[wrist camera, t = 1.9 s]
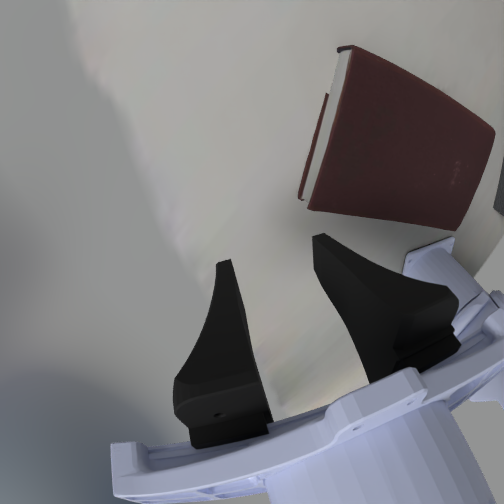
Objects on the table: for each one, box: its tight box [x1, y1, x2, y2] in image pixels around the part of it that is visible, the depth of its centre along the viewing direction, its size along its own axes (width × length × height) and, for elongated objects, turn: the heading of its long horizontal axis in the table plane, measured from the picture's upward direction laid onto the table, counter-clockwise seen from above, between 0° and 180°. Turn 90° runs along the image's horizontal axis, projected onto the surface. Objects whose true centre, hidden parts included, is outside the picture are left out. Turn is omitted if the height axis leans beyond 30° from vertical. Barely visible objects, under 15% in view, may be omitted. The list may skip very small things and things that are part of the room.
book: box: [298, 45, 495, 231], centre depth 22 cm, size 12×19×3 cm, turn 78°
